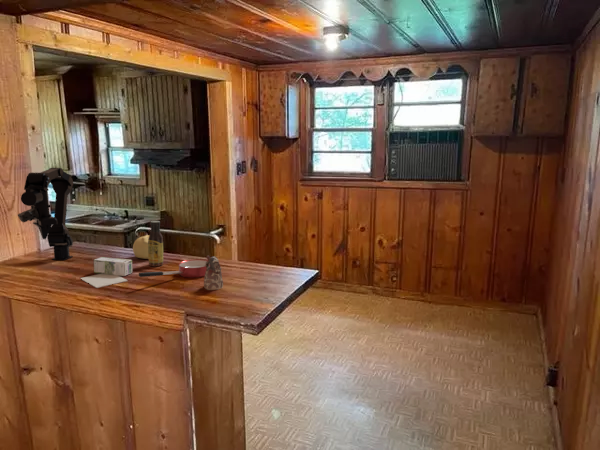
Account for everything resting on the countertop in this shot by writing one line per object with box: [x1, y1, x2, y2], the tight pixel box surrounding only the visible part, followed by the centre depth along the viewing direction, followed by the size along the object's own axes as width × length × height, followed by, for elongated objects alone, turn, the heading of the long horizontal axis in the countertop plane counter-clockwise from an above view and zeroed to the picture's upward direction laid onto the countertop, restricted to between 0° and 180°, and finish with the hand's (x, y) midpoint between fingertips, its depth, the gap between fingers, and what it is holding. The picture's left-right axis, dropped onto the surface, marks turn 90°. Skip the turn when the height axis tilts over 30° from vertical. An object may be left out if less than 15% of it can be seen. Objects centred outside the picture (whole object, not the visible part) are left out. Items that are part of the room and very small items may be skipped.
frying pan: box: [138, 258, 210, 279], centre depth 172 cm, size 32×13×6 cm, turn 148°
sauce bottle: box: [148, 220, 164, 267], centre depth 191 cm, size 7×6×20 cm
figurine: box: [203, 255, 224, 291], centre depth 163 cm, size 7×7×12 cm
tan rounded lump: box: [132, 234, 150, 260], centre depth 204 cm, size 11×12×11 cm
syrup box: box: [93, 256, 133, 277], centre depth 179 cm, size 6×6×14 cm
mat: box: [80, 273, 129, 289], centre depth 171 cm, size 16×12×1 cm
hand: (44, 239), depth 183 cm, fingers closed
